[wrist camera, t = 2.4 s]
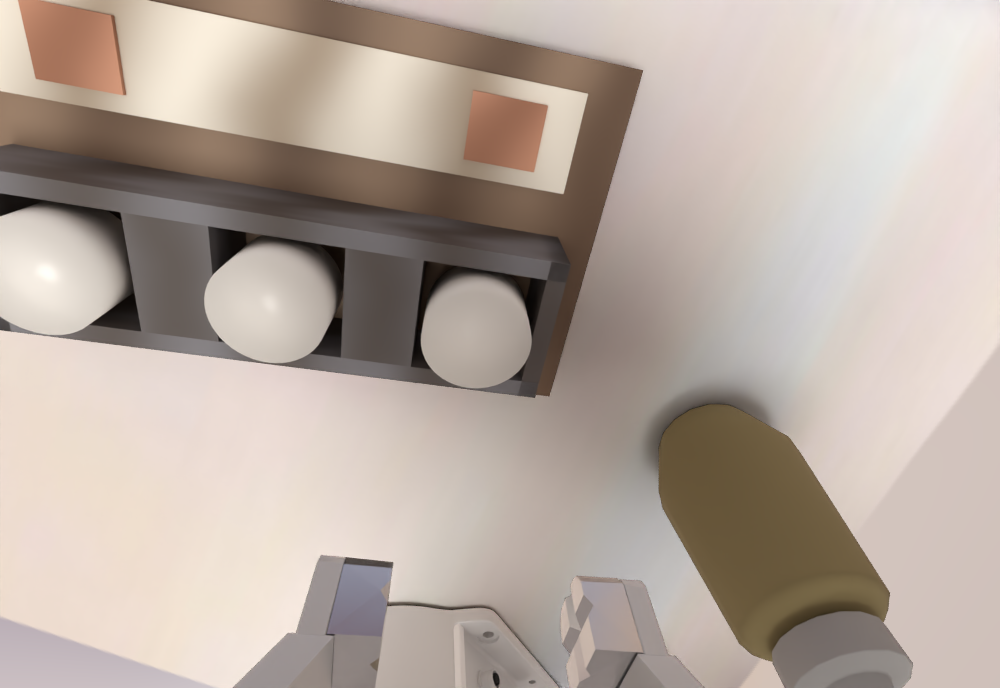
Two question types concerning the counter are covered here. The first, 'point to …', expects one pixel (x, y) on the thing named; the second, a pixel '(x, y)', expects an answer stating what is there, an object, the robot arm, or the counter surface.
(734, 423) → the squeeze bottle
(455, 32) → the button board
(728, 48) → the counter surface
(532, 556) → the counter surface
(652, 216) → the counter surface
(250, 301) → the button middle
